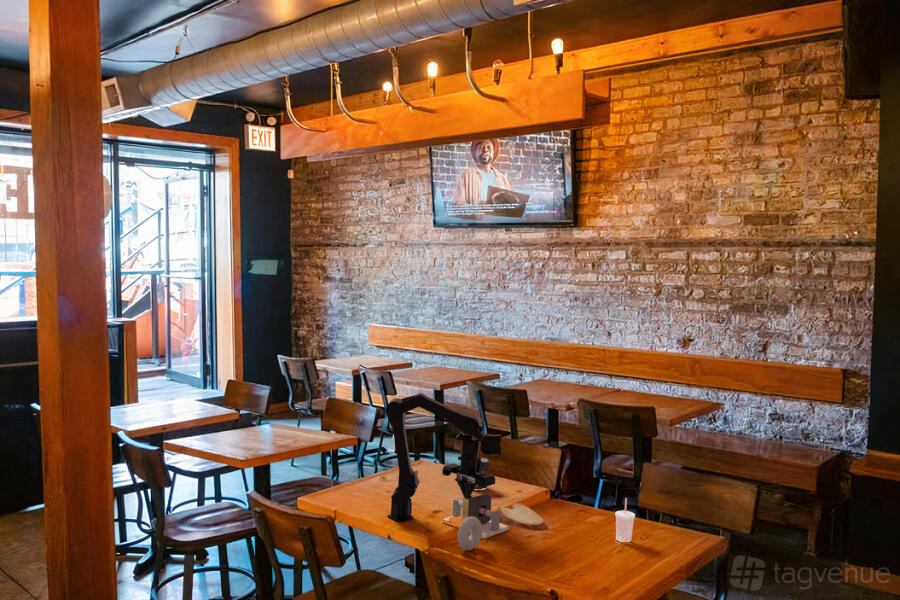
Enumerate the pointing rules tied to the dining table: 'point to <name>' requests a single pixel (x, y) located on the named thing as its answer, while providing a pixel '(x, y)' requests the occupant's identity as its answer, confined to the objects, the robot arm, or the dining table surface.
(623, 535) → the beverage cup
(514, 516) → the bread slice
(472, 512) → the dark gray square plate
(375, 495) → the dining table surface
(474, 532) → the grey wheel
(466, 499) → the olive brown square block
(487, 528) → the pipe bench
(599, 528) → the dining table surface
